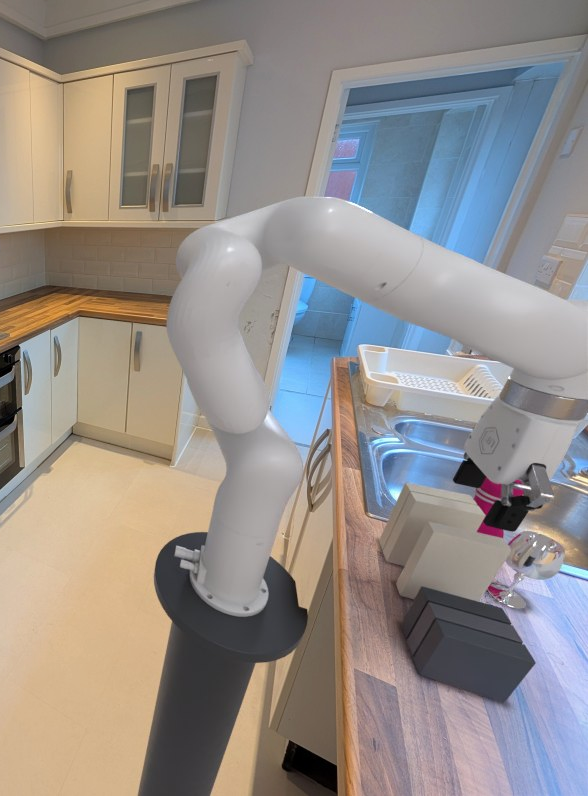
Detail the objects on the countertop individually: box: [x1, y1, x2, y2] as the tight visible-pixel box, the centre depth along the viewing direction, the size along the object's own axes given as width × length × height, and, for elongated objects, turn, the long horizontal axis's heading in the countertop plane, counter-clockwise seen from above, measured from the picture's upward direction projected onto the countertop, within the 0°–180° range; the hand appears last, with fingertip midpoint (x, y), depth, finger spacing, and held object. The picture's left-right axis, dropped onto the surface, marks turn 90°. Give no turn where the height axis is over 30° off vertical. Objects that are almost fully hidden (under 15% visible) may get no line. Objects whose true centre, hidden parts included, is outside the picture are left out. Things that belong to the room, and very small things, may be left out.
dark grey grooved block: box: [400, 586, 537, 704], centre depth 58 cm, size 9×8×8 cm
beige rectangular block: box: [378, 481, 486, 567], centre depth 74 cm, size 9×5×14 cm, turn 67°
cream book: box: [395, 521, 512, 602], centre depth 66 cm, size 9×2×14 cm, turn 67°
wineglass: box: [486, 530, 566, 610], centre depth 67 cm, size 6×6×12 cm
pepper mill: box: [472, 477, 524, 539], centre depth 74 cm, size 7×7×20 cm
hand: (480, 504), depth 61 cm, fingers open, 9 cm apart
